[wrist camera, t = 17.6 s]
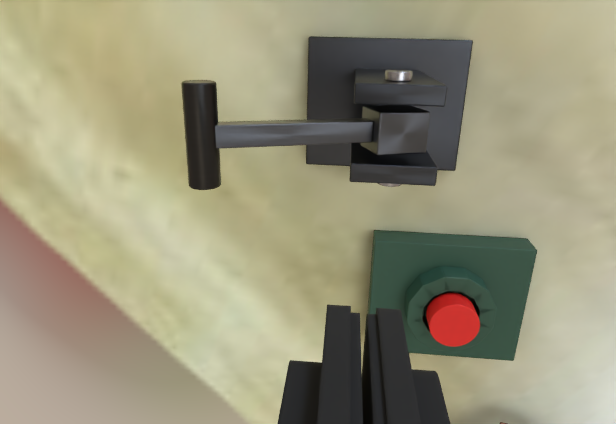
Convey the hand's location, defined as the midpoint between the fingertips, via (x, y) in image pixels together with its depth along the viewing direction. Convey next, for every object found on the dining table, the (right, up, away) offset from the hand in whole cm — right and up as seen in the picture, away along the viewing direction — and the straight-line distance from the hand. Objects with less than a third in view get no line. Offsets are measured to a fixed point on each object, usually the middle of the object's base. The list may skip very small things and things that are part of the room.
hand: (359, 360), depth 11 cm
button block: (+10, -3, +28) cm, 30 cm away
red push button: (+10, -4, +25) cm, 27 cm away
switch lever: (-1, +8, +14) cm, 16 cm away
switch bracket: (+4, +11, +24) cm, 26 cm away
